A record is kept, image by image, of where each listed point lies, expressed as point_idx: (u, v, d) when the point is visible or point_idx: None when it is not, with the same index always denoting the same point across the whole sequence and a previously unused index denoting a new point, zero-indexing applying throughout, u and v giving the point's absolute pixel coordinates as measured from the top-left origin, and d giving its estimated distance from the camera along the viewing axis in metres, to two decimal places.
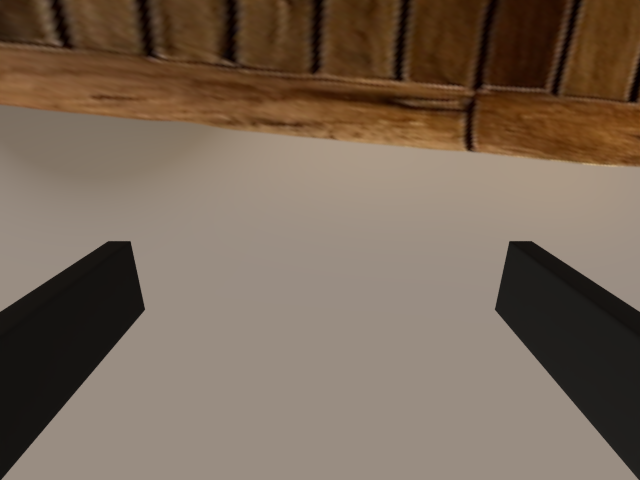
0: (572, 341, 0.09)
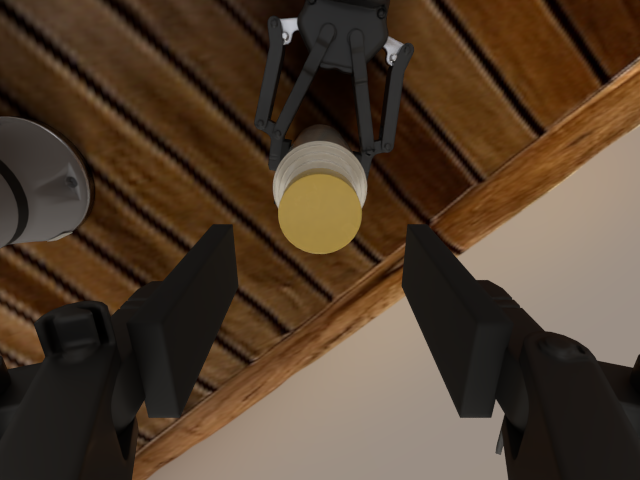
0: (432, 304, 0.11)
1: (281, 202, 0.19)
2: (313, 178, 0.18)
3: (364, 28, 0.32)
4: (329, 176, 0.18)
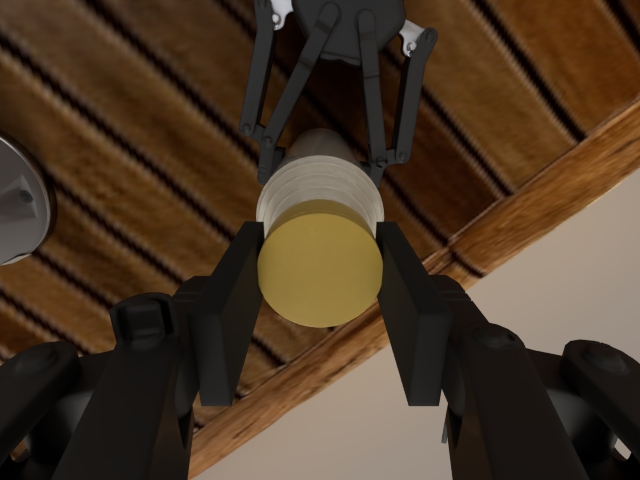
0: (391, 298, 0.11)
1: (261, 255, 0.12)
2: (310, 220, 0.12)
3: (376, 9, 0.25)
4: (334, 217, 0.12)
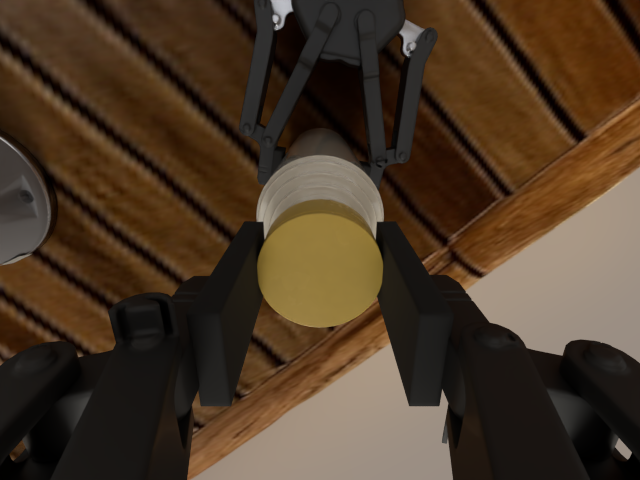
0: (391, 298, 0.11)
1: (296, 321, 0.13)
2: (262, 278, 0.13)
3: (375, 9, 0.25)
4: (260, 257, 0.12)
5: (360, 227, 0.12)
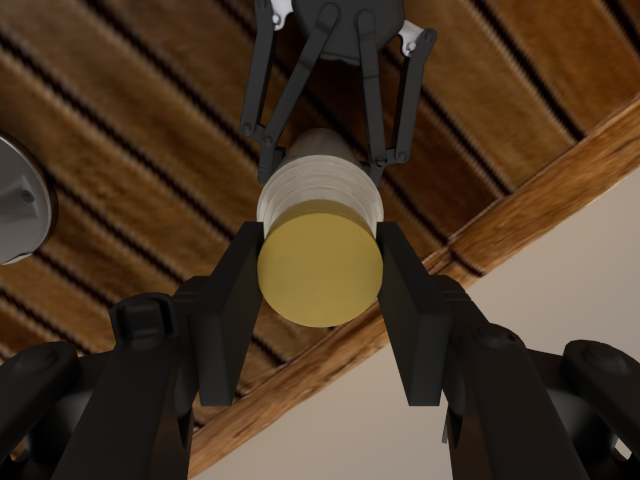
0: (391, 298, 0.11)
1: (372, 300, 0.13)
2: (320, 323, 0.13)
3: (375, 9, 0.25)
4: (298, 322, 0.13)
5: (272, 234, 0.12)
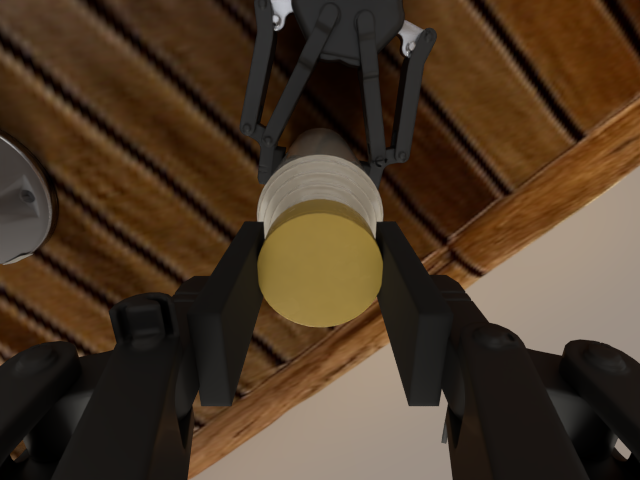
0: (391, 298, 0.11)
1: (356, 226, 0.12)
2: (377, 278, 0.13)
3: (375, 9, 0.25)
4: (373, 298, 0.13)
5: (276, 310, 0.13)
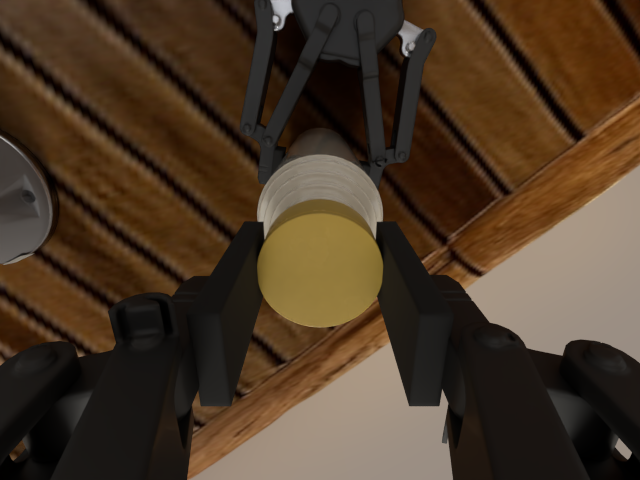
0: (392, 298, 0.11)
1: (270, 239, 0.12)
2: (329, 220, 0.12)
3: (375, 9, 0.25)
4: (354, 224, 0.12)
5: (356, 315, 0.13)
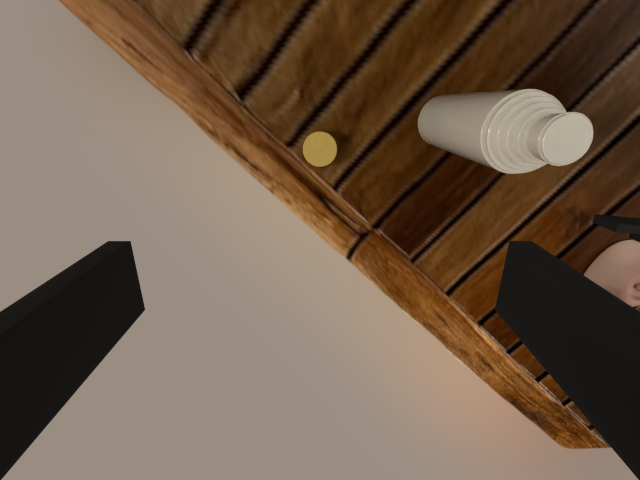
0: (572, 341, 0.09)
1: (306, 138, 0.46)
2: (322, 133, 0.46)
3: None
4: (328, 134, 0.46)
5: (330, 162, 0.47)
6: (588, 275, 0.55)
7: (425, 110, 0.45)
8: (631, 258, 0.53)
